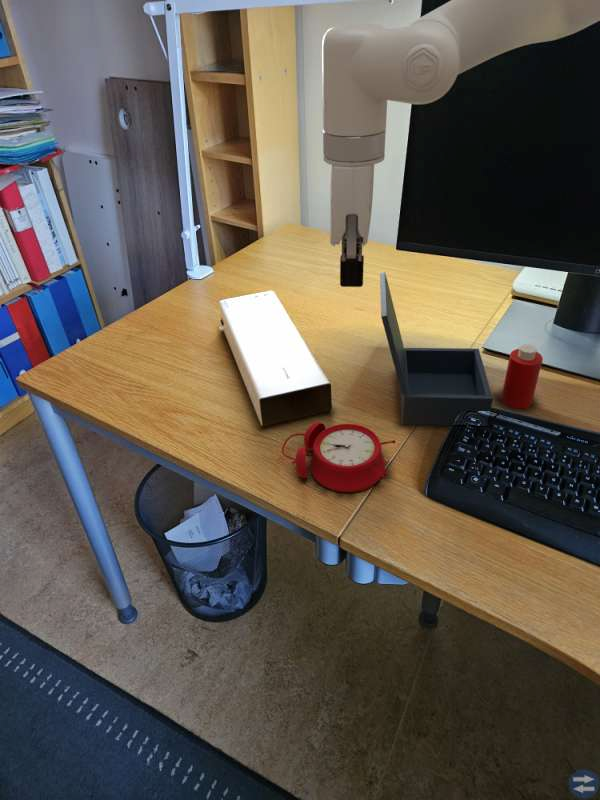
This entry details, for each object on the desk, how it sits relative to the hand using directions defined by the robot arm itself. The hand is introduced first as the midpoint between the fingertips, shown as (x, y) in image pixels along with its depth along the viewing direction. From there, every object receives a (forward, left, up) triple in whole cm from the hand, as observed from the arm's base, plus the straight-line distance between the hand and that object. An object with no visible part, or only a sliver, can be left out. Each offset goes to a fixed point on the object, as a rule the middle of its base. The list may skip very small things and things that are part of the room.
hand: (351, 284), depth 79 cm
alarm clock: (+2, +16, -20) cm, 26 cm away
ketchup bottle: (-26, 0, -20) cm, 33 cm away
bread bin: (-14, 0, -20) cm, 25 cm away
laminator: (+15, -8, -20) cm, 27 cm away
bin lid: (-7, 0, -8) cm, 10 cm away
